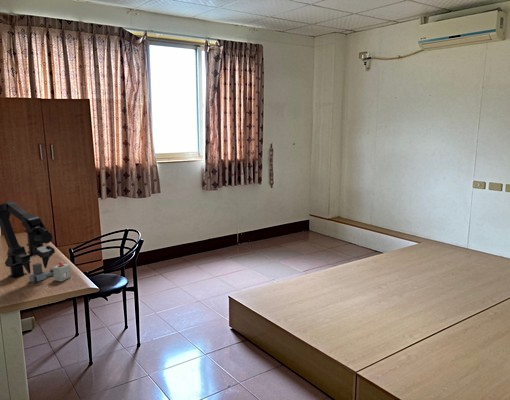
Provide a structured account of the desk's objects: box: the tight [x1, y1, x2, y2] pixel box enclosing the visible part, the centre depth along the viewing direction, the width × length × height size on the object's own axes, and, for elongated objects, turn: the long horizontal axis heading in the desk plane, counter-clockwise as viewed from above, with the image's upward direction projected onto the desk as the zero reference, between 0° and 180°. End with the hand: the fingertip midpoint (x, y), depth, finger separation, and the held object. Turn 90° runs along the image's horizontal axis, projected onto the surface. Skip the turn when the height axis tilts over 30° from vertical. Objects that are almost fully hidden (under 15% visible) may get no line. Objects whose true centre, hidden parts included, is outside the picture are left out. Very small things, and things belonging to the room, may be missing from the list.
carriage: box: [29, 262, 47, 283], centre depth 223 cm, size 5×5×8 cm
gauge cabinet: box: [52, 263, 72, 282], centre depth 224 cm, size 6×6×7 cm
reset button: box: [58, 261, 64, 267], centre depth 223 cm, size 2×2×4 cm
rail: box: [28, 268, 54, 284], centre depth 226 cm, size 3×13×3 cm, turn 153°
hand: (37, 270), depth 223 cm, fingers open, 9 cm apart
